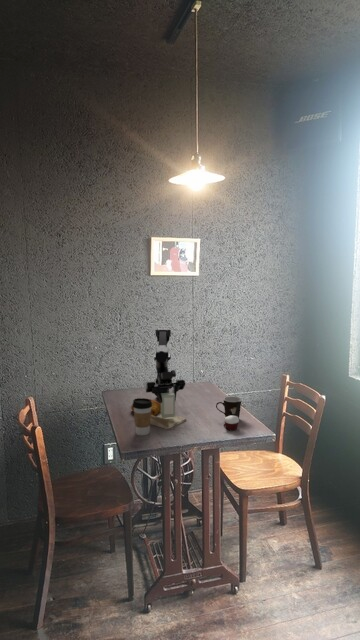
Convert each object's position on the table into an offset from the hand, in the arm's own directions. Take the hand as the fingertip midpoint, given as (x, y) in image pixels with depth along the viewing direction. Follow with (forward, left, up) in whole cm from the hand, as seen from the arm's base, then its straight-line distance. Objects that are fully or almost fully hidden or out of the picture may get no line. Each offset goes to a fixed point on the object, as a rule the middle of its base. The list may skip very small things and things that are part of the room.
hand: (168, 401), depth 198 cm
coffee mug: (-22, +20, -10) cm, 31 cm away
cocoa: (-12, +28, -10) cm, 32 cm away
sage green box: (-1, -1, -8) cm, 8 cm away
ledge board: (0, -1, -10) cm, 10 cm away
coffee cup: (+17, 0, -10) cm, 20 cm away
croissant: (-4, -18, -10) cm, 21 cm away
